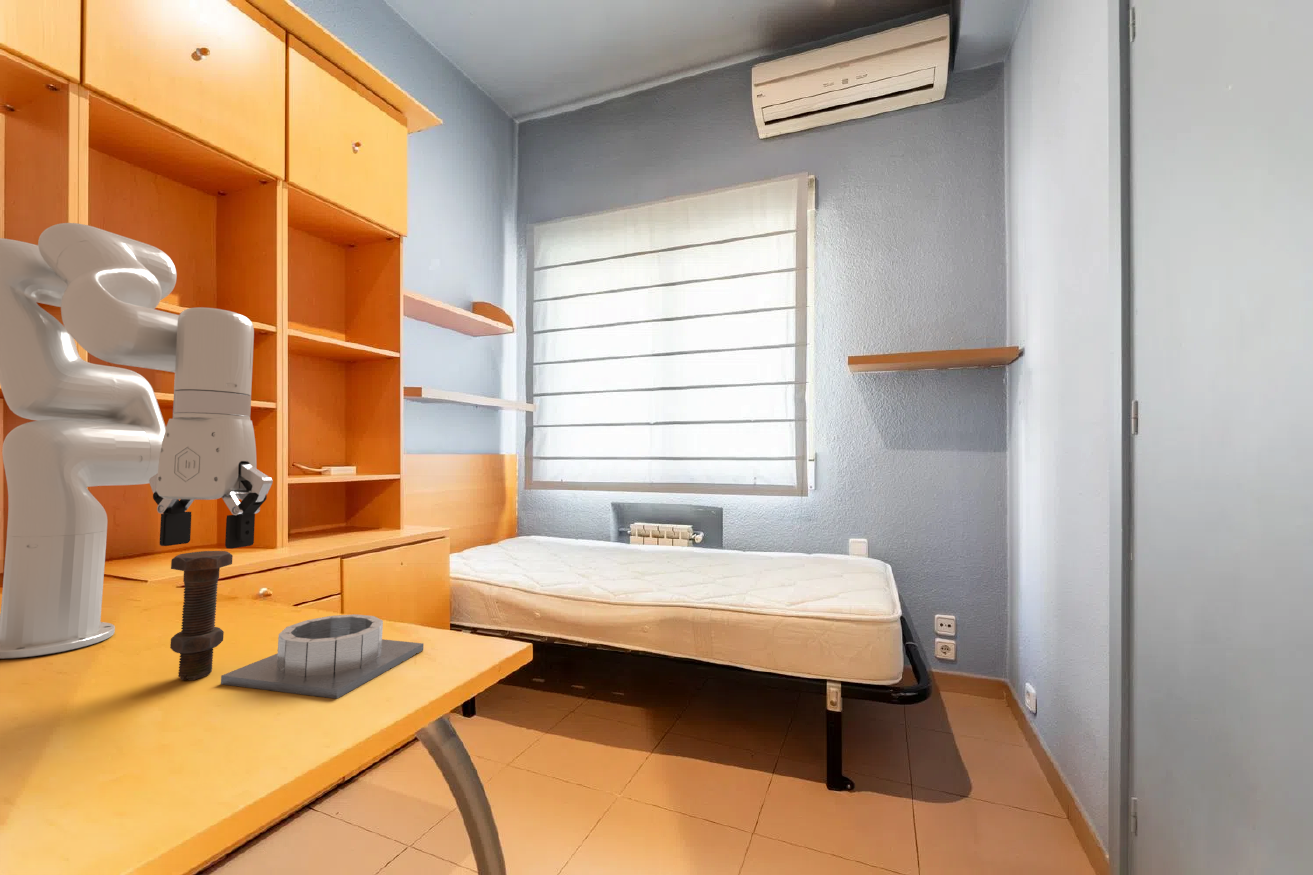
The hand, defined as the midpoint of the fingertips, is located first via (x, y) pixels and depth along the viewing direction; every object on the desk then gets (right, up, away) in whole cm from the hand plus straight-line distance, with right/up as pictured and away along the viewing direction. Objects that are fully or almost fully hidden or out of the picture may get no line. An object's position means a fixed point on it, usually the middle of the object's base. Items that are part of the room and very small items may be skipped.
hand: (206, 545), depth 66 cm
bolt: (-1, -16, -1) cm, 16 cm away
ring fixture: (+13, -17, +4) cm, 22 cm away
